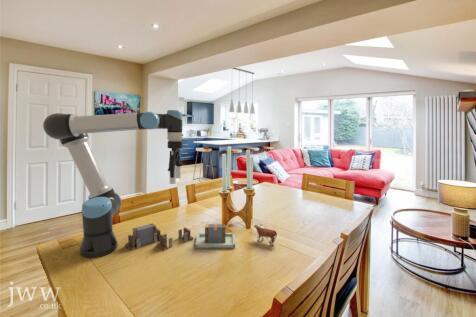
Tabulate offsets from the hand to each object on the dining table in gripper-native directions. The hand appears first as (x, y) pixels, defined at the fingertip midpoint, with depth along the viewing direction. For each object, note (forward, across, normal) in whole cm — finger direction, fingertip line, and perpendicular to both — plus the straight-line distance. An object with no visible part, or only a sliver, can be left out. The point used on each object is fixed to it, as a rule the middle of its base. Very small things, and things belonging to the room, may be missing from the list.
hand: (175, 180), depth 131 cm
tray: (+28, -12, -22) cm, 38 cm away
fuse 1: (+29, -12, +13) cm, 33 cm away
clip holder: (+28, -12, -2) cm, 31 cm away
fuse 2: (+28, -12, -22) cm, 37 cm away
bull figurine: (+28, -11, -46) cm, 56 cm away
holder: (+29, -12, +13) cm, 33 cm away
